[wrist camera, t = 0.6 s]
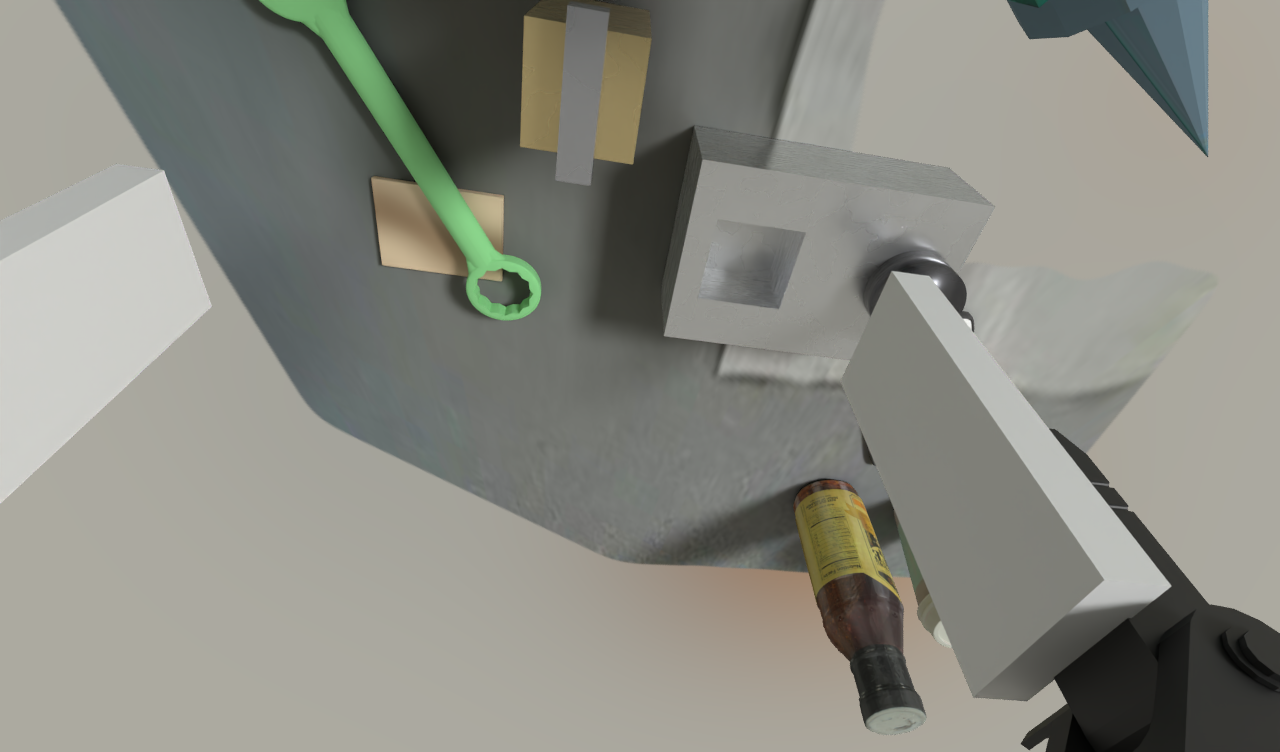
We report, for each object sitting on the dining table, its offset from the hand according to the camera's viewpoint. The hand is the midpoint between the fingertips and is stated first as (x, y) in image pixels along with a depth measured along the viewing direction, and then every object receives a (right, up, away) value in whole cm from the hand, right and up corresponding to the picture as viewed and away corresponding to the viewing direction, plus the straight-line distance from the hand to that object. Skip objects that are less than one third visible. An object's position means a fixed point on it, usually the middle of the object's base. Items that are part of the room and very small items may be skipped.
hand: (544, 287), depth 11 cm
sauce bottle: (+19, -13, +44) cm, 50 cm away
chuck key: (0, +16, +21) cm, 27 cm away
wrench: (-11, +12, +24) cm, 29 cm away
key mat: (-11, +8, +27) cm, 31 cm away
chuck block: (+12, +8, +28) cm, 31 cm away
